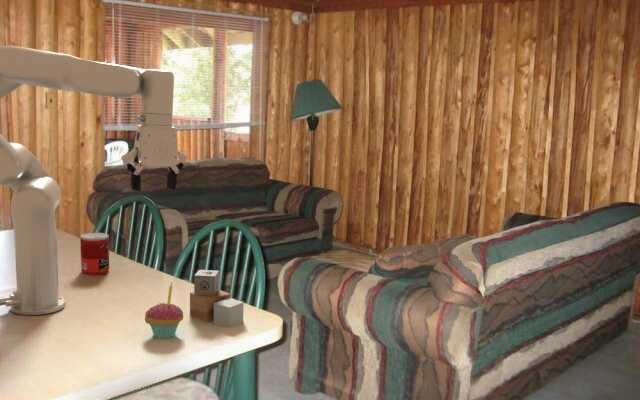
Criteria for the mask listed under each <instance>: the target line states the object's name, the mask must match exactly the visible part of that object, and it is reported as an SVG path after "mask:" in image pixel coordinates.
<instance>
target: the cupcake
mask: <svg viewBox="0 0 640 400" xmlns="http://www.w3.org/2000/svg"><path fill="white" fill-rule="evenodd" d="M172 293H173V282H171V283H170V285H169V287H168V294H167V295H168V297H167V303H164V302H162V303H158V304H156V305H154V306H151V307H149V309H148V310H146V311H145V316H144V321H145V323H146V324H148V325H149V326H150V328H151V330H152V331H151V332H152V334H153V336H154V338H157V339H169V338H173V337H174V336H176V331H177V328H178V326H179V324H180V322H182V321H183V320H184V312H183V310H182V308H180V306H177V305H176V304H172V303H171V299H172Z"/></svg>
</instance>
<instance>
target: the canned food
mask: <svg viewBox="0 0 640 400" xmlns="http://www.w3.org/2000/svg"><path fill="white" fill-rule="evenodd" d="M79 239H80V242H79V243H80V269H81V273H82V274H84V275H87V276H101V275H106V274H107V273H108V272H109V270H110V240H109V239H110V237H109V234H108V233H104V232H89V233H84V234H81V235H80V238H79Z"/></svg>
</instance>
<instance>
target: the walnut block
mask: <svg viewBox="0 0 640 400" xmlns="http://www.w3.org/2000/svg"><path fill="white" fill-rule="evenodd" d="M226 298H230V299H231V293H228V292H227V291H224V290H221V289H219V291H218V292H217V294H216V295H215V296H200V295H194V291H191V292H190V293H189V316H191V317H193V318H195V319H197V320H200V321H202V322H204V323H206V324H207V323H211V322H214V303H216V302H218V301H221V300H224V299H226Z"/></svg>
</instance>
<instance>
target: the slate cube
mask: <svg viewBox="0 0 640 400" xmlns="http://www.w3.org/2000/svg"><path fill="white" fill-rule="evenodd" d="M244 304H245V303H244V301H241V300H236V299H233V298H231V297H230V298H226V299H224V300H221V301H218V302H216V303H214V321H213V323H214V324H217V325H218V326H219V325H220V326H222V327H226V328H232V327H235V326H237V325H240V324H241V323H243V322H244V307H245V306H244Z"/></svg>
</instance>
